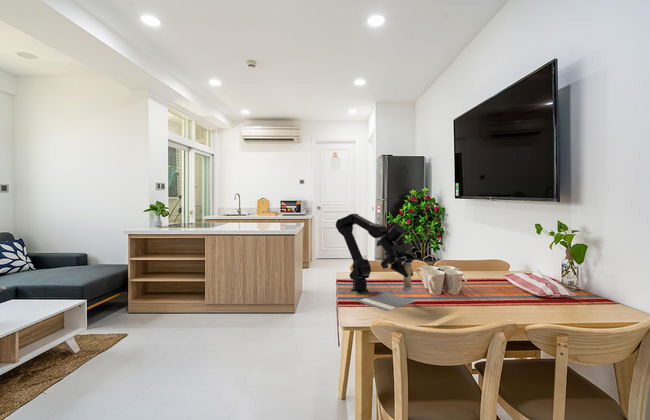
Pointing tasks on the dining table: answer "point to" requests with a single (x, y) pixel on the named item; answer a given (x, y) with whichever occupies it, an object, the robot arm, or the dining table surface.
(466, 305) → the dining table surface
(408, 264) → the tan cylinder
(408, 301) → the subfloor board
